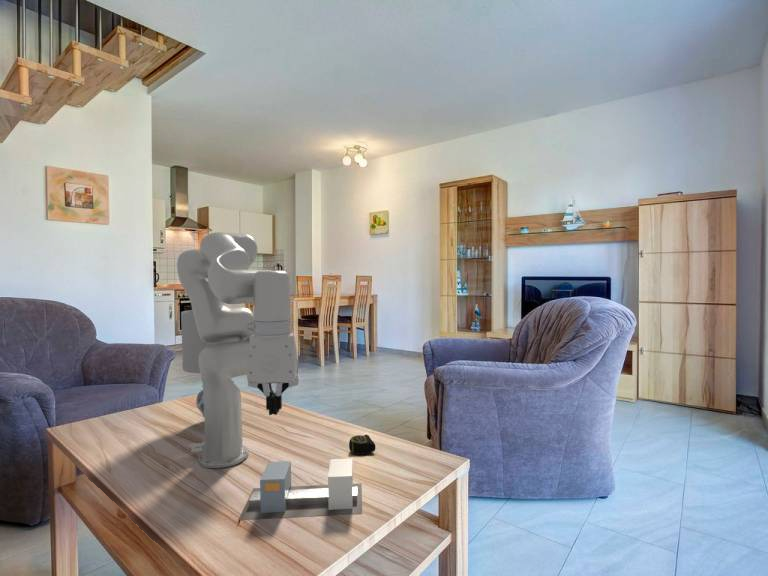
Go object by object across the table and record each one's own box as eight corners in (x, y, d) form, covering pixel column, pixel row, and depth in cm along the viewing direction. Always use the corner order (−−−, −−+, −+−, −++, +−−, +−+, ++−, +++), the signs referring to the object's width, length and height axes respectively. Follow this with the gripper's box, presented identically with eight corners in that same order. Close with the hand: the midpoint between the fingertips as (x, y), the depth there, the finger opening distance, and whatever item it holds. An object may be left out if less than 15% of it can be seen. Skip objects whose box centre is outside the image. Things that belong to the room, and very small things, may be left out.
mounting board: (238, 524, 82) (238, 519, 82) (253, 492, 94) (253, 488, 94) (362, 518, 83) (362, 513, 83) (361, 487, 95) (361, 483, 95)
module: (260, 513, 84) (259, 480, 84) (269, 492, 92) (268, 461, 92) (285, 512, 84) (284, 479, 84) (291, 491, 92) (290, 460, 92)
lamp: (183, 416, 144) (180, 309, 143) (246, 406, 154) (243, 306, 153) (186, 438, 125) (182, 315, 124) (257, 425, 135) (254, 311, 134)
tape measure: (376, 455, 113) (376, 441, 112) (352, 458, 110) (352, 445, 110) (369, 445, 119) (369, 432, 119) (346, 448, 117) (346, 435, 117)
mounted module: (328, 509, 85) (328, 477, 85) (331, 489, 93) (330, 459, 93) (352, 508, 85) (352, 475, 85) (352, 488, 93) (352, 458, 93)
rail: (248, 507, 86) (248, 500, 86) (253, 498, 90) (252, 491, 90) (357, 502, 88) (357, 495, 88) (357, 493, 91) (357, 486, 91)
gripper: (231, 331, 82) (233, 420, 83) (305, 330, 83) (307, 418, 84) (241, 326, 90) (243, 407, 91) (309, 325, 91) (311, 405, 92)
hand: (274, 412), depth 88 cm, fingers closed
